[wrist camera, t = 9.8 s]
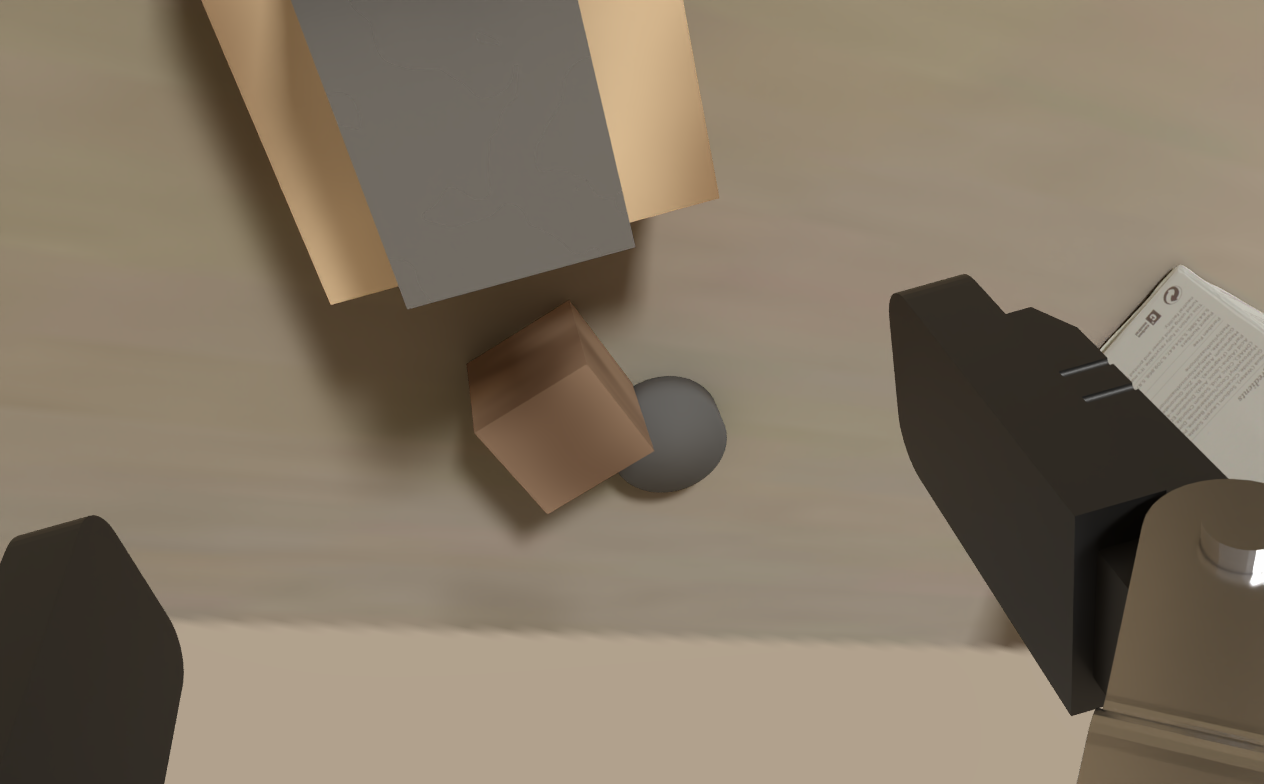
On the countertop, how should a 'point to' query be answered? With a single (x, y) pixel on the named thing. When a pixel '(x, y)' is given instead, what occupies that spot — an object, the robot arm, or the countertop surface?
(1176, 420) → the skincare box
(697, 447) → the rubber puck
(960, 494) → the robot arm
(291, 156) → the stand
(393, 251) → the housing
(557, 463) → the walnut block
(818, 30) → the countertop surface
